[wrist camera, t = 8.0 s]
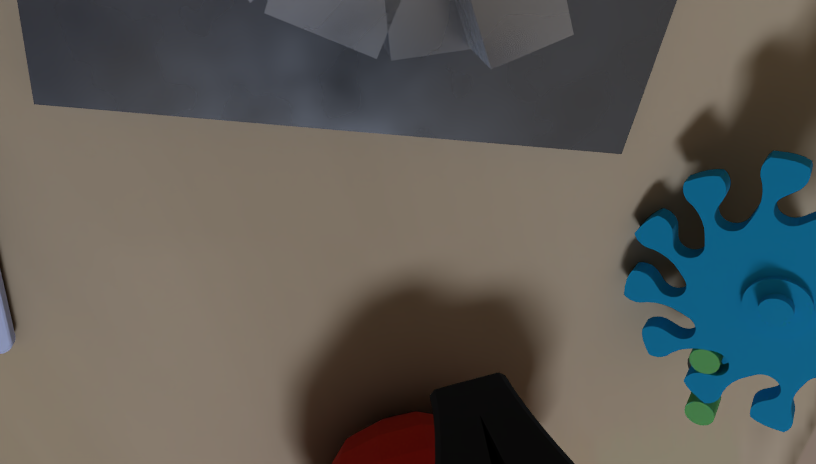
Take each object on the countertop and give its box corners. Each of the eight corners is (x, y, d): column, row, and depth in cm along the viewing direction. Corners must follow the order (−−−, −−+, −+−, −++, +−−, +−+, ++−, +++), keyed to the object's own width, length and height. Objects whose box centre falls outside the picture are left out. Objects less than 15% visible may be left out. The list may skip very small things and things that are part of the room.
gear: (716, 103, 18) (1104, 291, 15) (748, 73, 22) (1052, 212, 19) (562, 343, 25) (806, 514, 21) (610, 283, 29) (819, 416, 25)
